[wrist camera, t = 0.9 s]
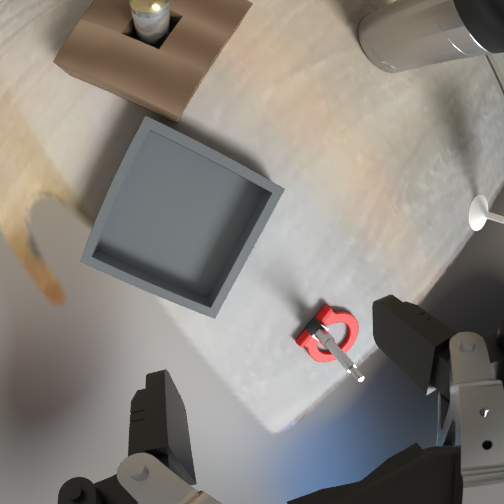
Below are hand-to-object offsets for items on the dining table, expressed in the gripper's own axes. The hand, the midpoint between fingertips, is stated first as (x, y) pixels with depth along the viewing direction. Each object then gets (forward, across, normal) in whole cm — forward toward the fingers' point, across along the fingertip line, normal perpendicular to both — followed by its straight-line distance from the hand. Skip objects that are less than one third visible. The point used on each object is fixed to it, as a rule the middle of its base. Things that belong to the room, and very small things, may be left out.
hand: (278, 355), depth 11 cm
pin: (+26, +1, -20) cm, 34 cm away
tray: (+26, +3, 0) cm, 26 cm away
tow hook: (+27, -13, +21) cm, 36 cm away
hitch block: (+26, +1, -20) cm, 34 cm away
